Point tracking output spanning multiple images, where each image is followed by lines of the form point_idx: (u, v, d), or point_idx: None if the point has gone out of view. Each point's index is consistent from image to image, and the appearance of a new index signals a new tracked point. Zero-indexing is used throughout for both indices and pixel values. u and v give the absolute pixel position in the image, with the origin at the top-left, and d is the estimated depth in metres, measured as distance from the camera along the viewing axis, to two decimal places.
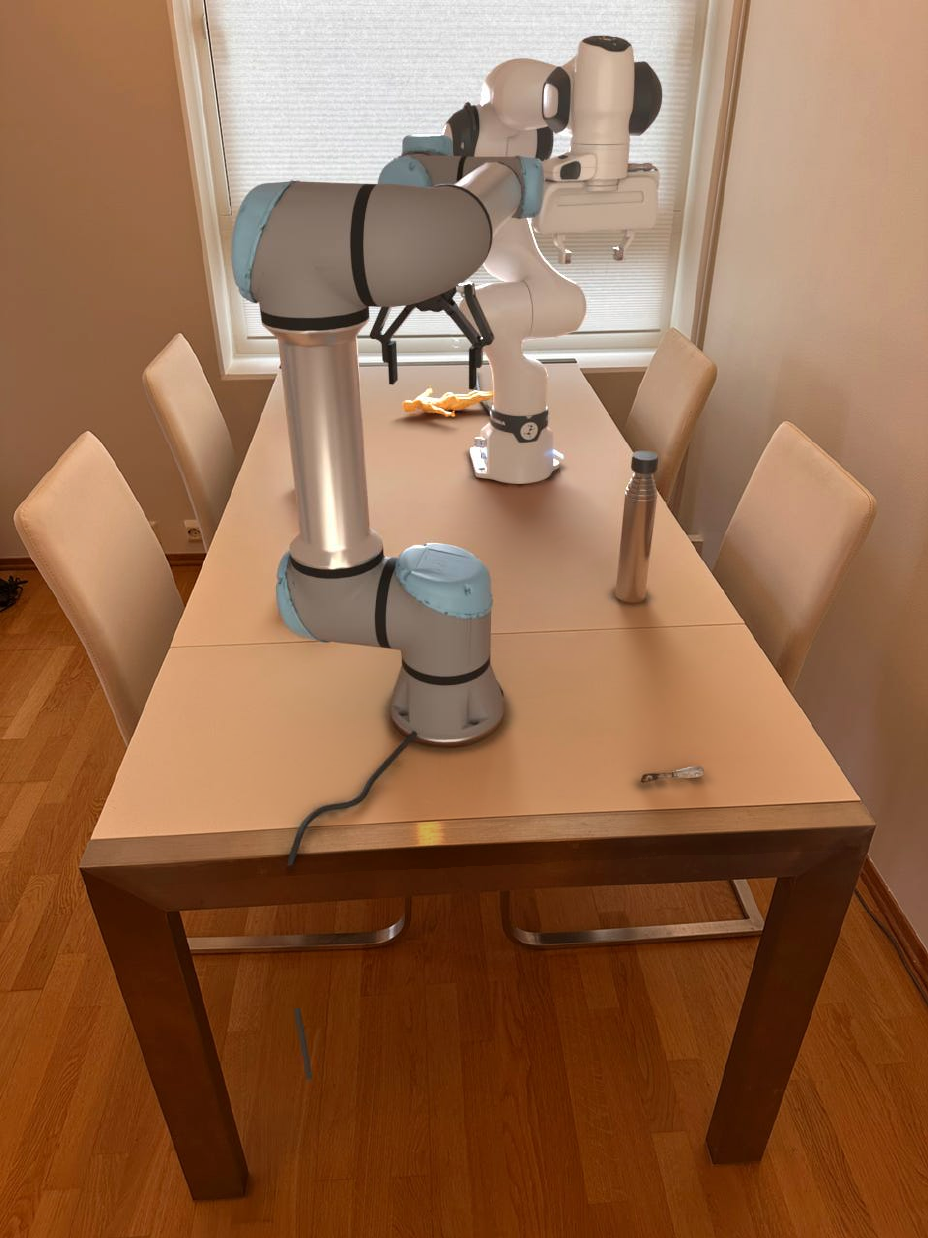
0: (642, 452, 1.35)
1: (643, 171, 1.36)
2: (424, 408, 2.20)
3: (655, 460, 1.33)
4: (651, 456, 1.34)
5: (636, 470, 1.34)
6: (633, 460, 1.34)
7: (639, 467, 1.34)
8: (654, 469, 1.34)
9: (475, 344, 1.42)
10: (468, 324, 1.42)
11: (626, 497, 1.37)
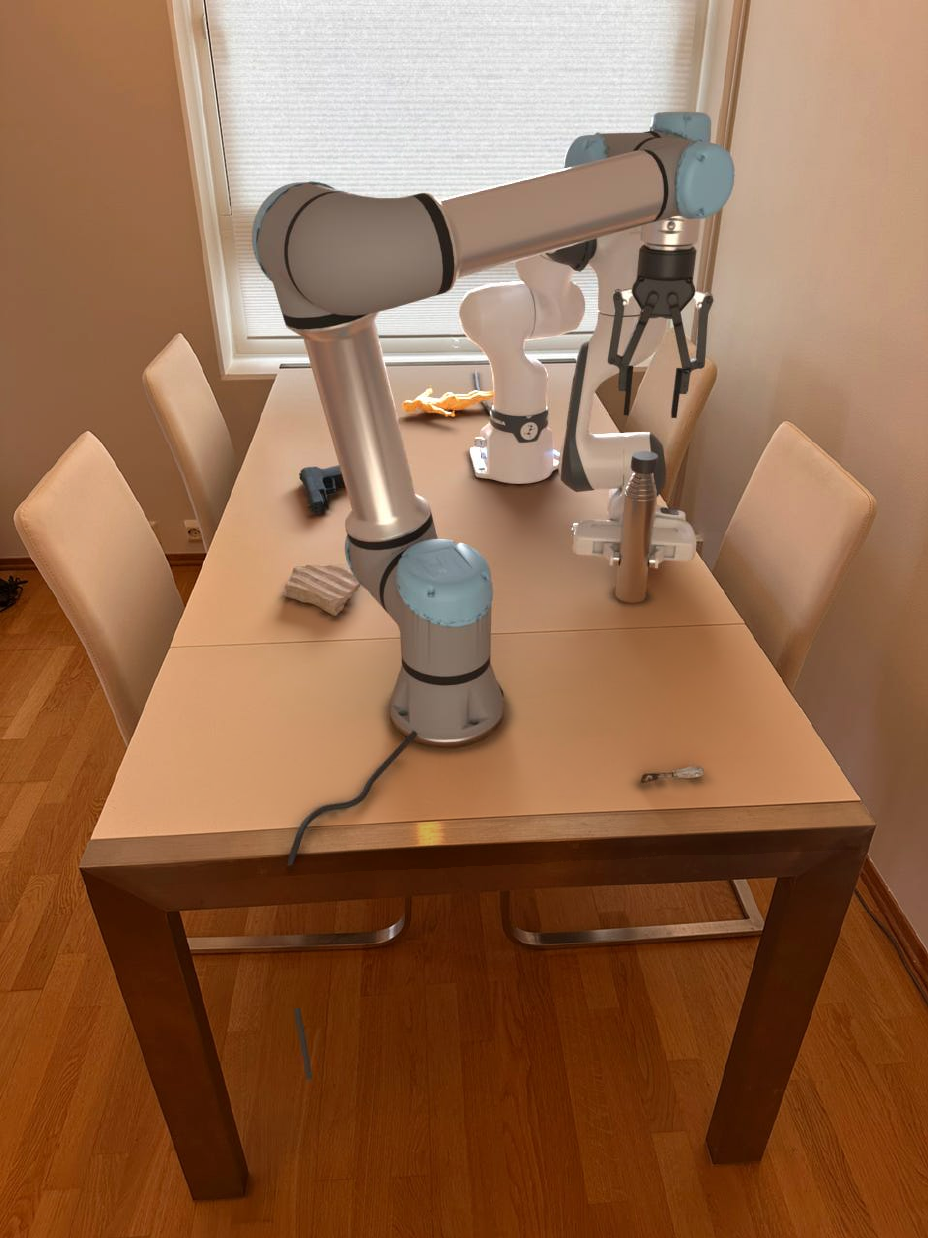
0: (642, 452, 1.35)
1: None
2: (424, 408, 2.20)
3: (655, 460, 1.33)
4: (651, 456, 1.34)
5: (636, 470, 1.34)
6: (633, 460, 1.34)
7: (638, 467, 1.34)
8: (654, 469, 1.34)
9: None
10: (629, 339, 1.26)
11: (626, 497, 1.37)
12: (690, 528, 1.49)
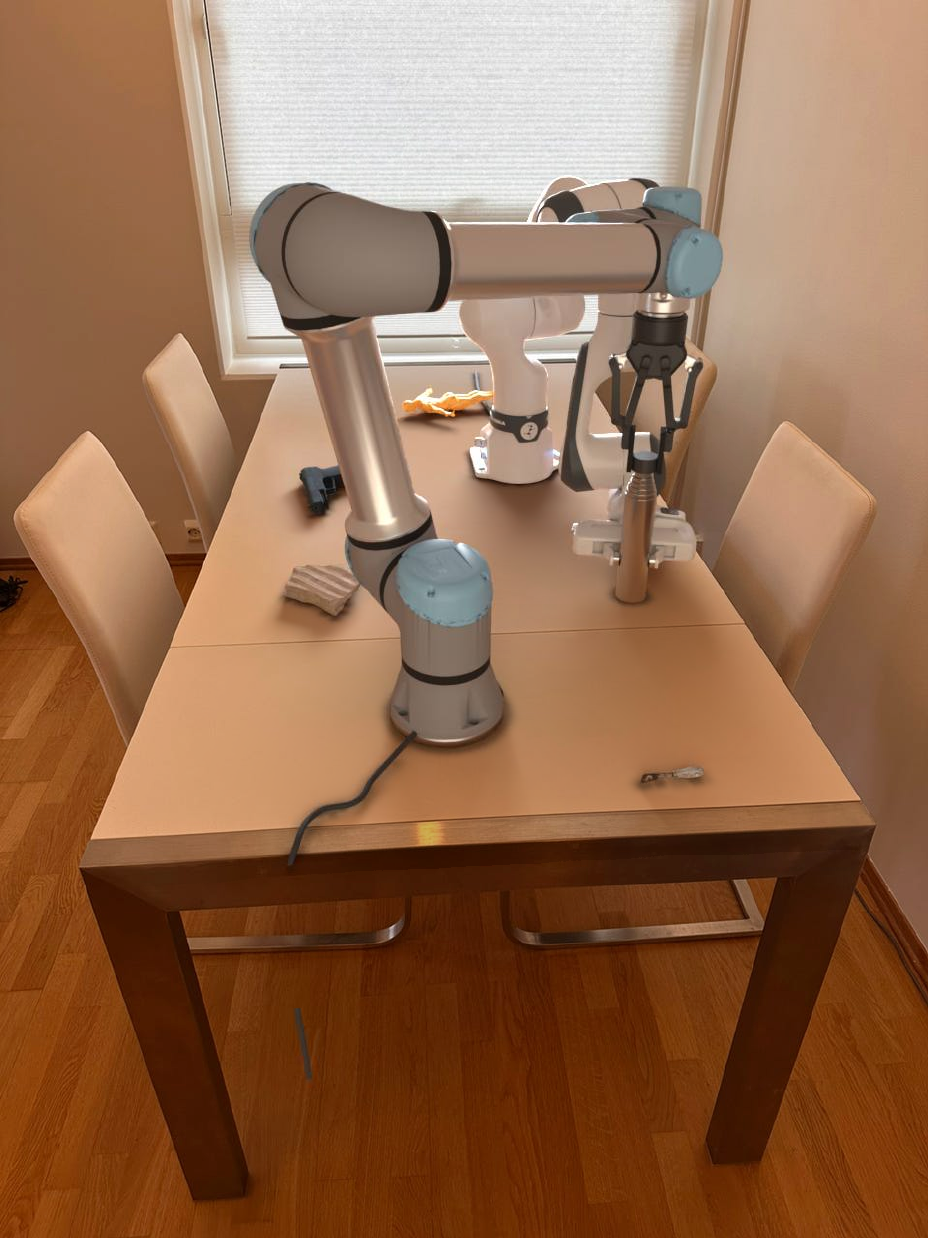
0: (642, 452, 1.35)
1: None
2: (424, 408, 2.20)
3: (655, 460, 1.33)
4: (651, 456, 1.34)
5: (636, 470, 1.34)
6: (633, 460, 1.34)
7: (639, 467, 1.34)
8: (654, 469, 1.34)
9: None
10: (629, 400, 1.31)
11: (626, 497, 1.37)
12: (690, 528, 1.49)
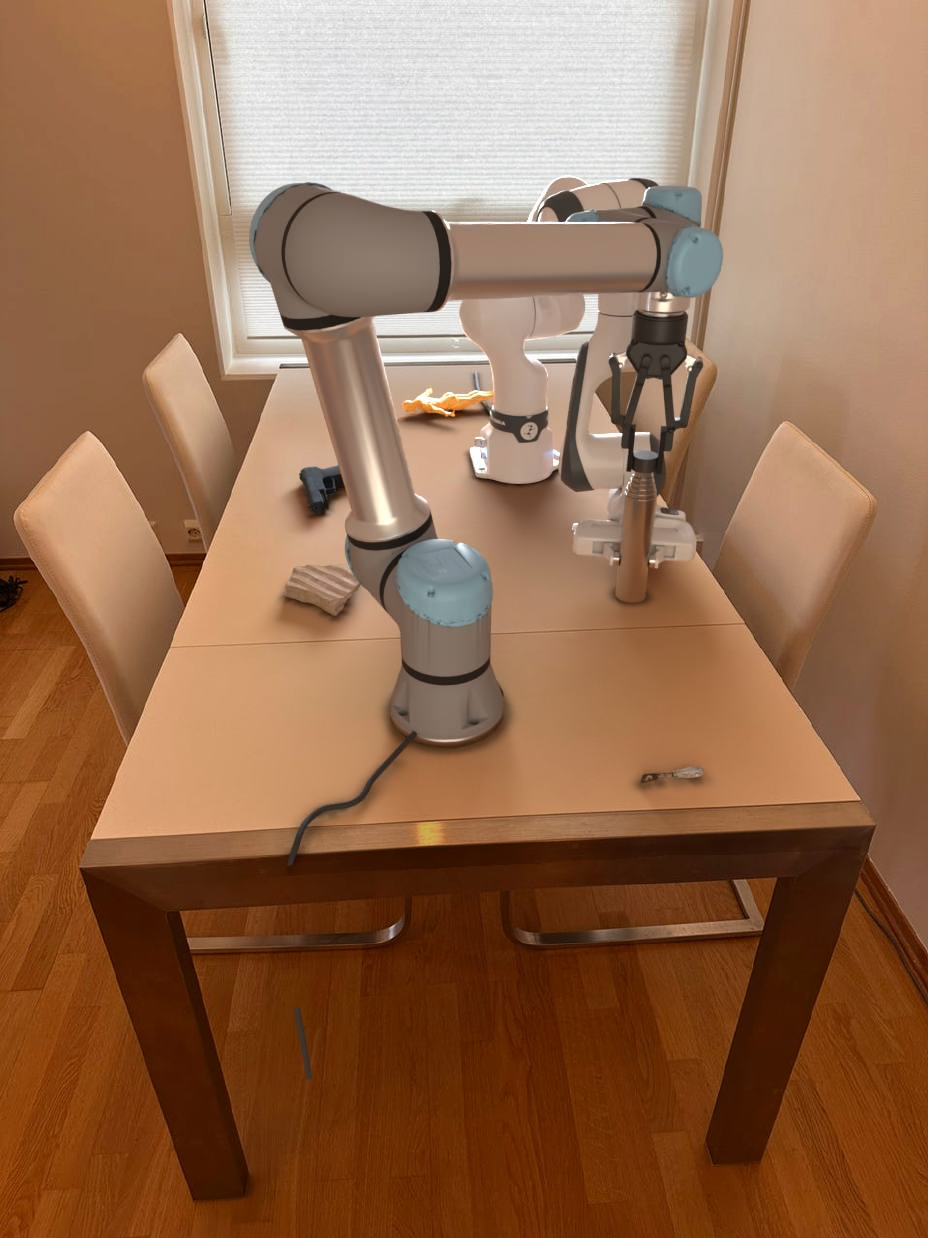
0: (638, 455, 1.34)
1: None
2: (424, 408, 2.20)
3: None
4: (646, 452, 1.35)
5: (655, 469, 1.34)
6: (652, 462, 1.33)
7: (656, 464, 1.34)
8: None
9: None
10: (629, 400, 1.31)
11: (626, 497, 1.37)
12: (690, 528, 1.49)
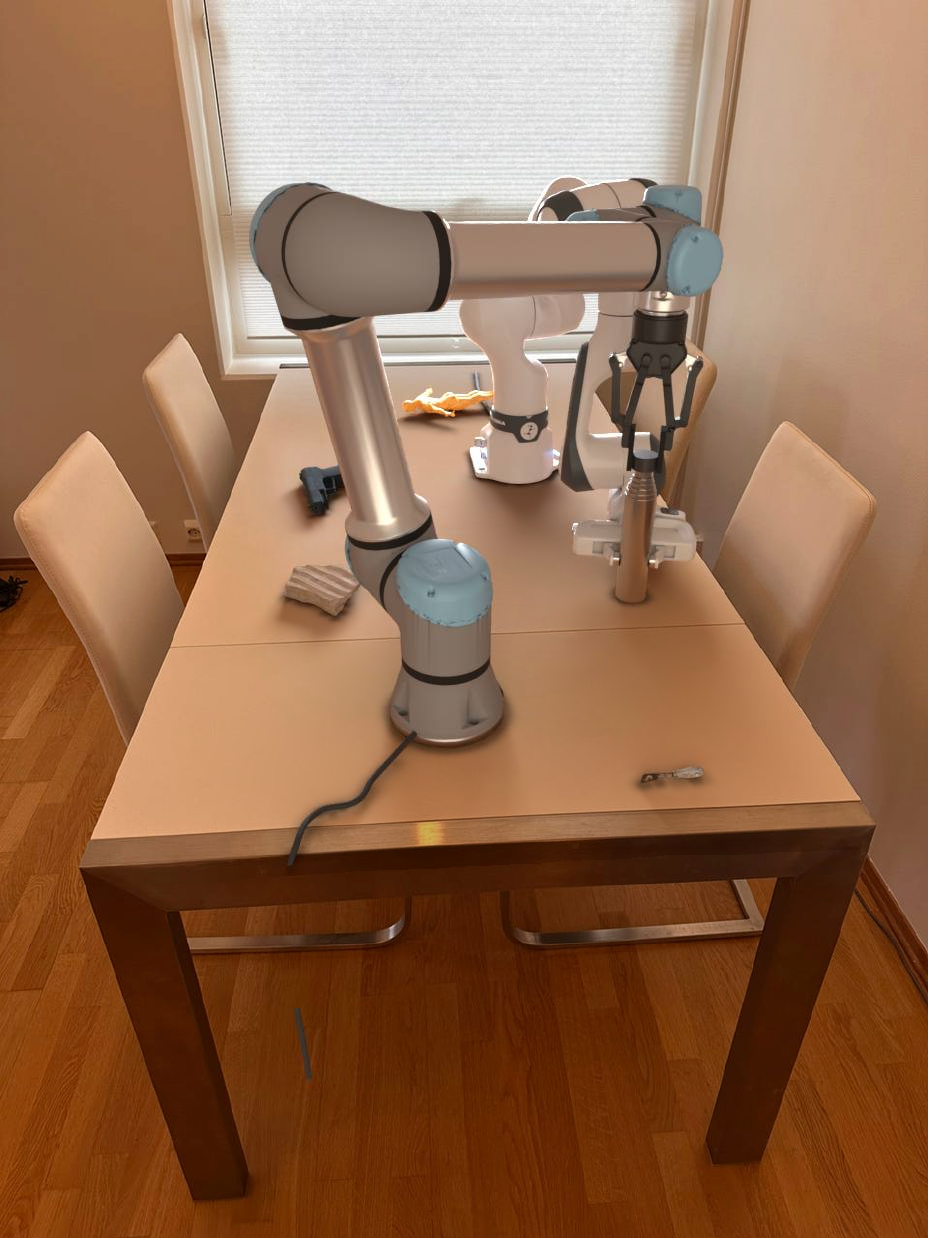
0: (650, 457, 1.33)
1: None
2: (424, 408, 2.20)
3: None
4: (639, 453, 1.34)
5: None
6: None
7: None
8: None
9: None
10: (629, 399, 1.31)
11: (626, 497, 1.37)
12: (690, 528, 1.49)
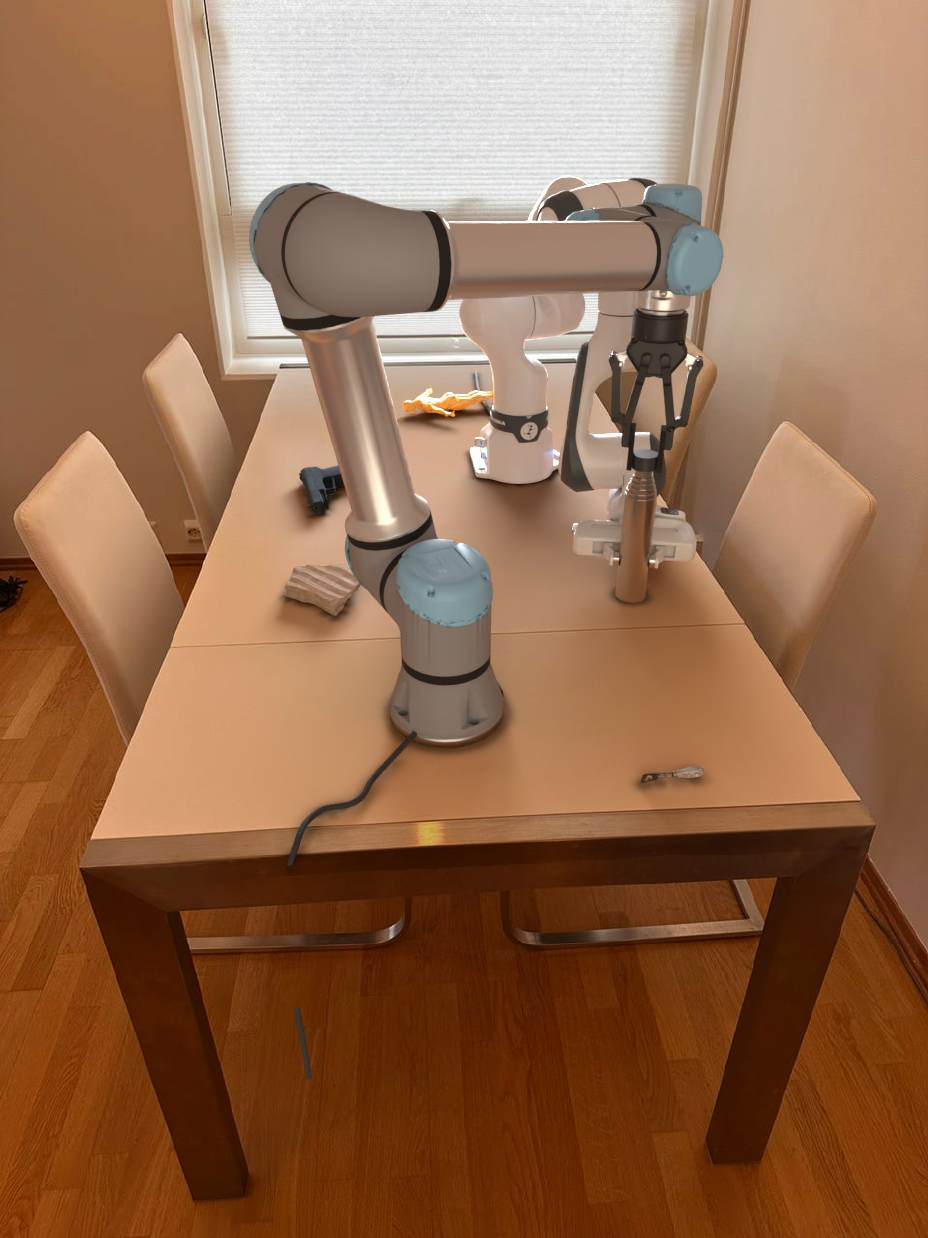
0: (651, 452, 1.35)
1: None
2: (424, 408, 2.20)
3: (641, 459, 1.33)
4: (646, 455, 1.33)
5: None
6: None
7: (632, 460, 1.35)
8: (640, 468, 1.34)
9: None
10: None
11: (626, 497, 1.37)
12: (690, 528, 1.49)
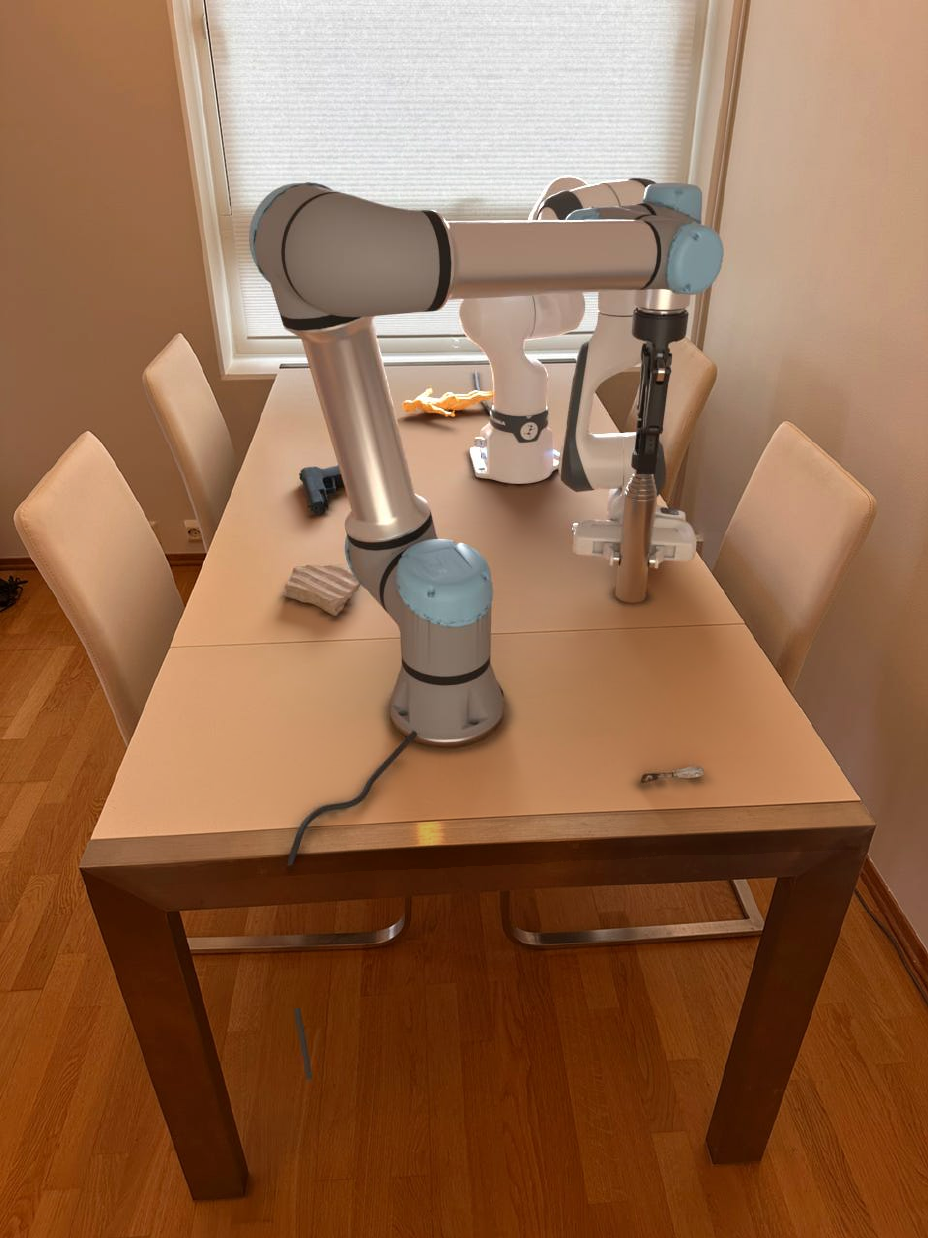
0: None
1: None
2: (424, 408, 2.20)
3: None
4: None
5: None
6: None
7: None
8: (657, 464, 1.34)
9: (642, 427, 1.29)
10: None
11: (626, 497, 1.37)
12: (690, 528, 1.49)
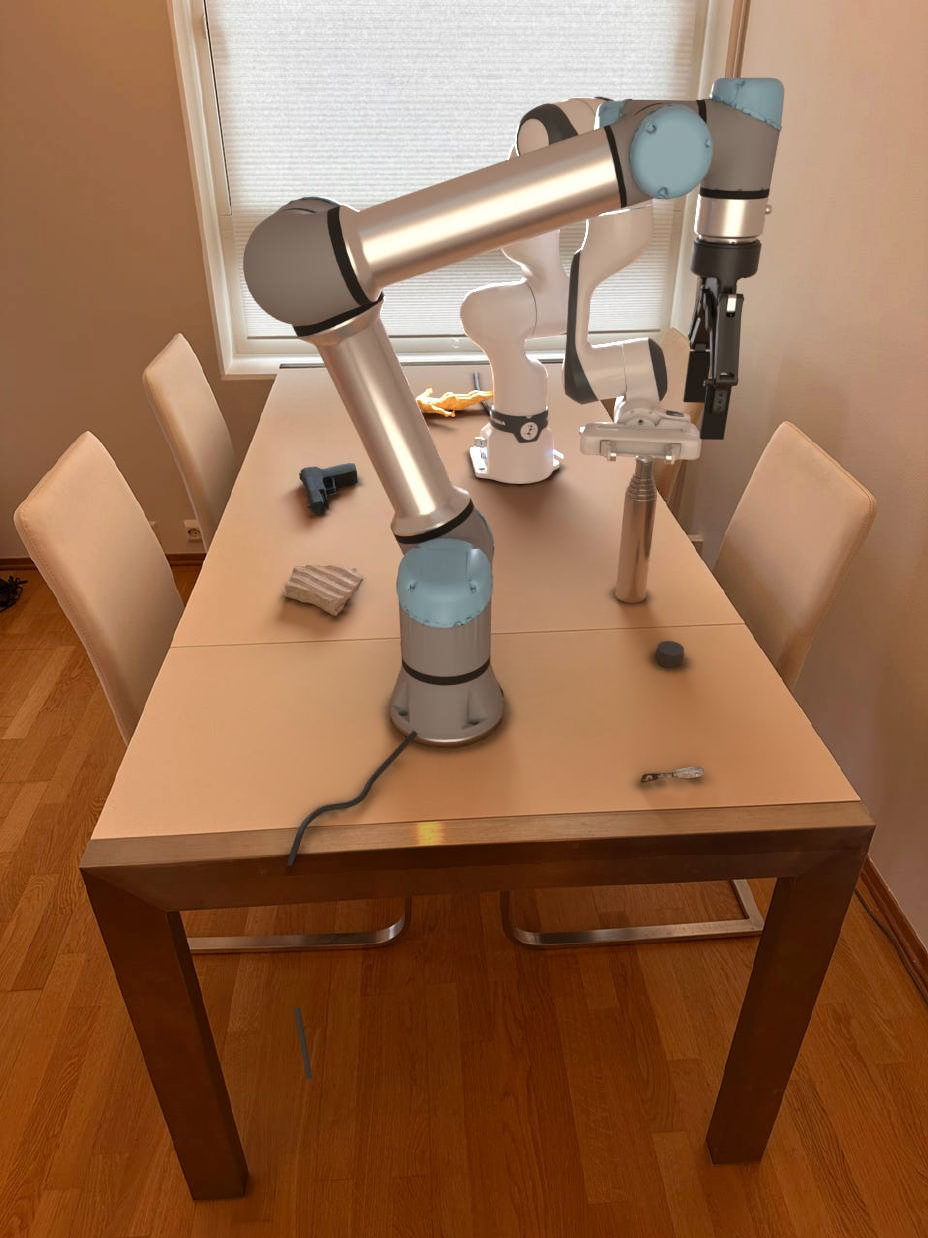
0: (664, 644, 1.31)
1: None
2: (424, 408, 2.20)
3: (683, 651, 1.30)
4: (677, 647, 1.30)
5: (667, 665, 1.29)
6: (662, 656, 1.29)
7: (670, 662, 1.29)
8: (682, 659, 1.30)
9: None
10: None
11: (626, 497, 1.37)
12: (695, 428, 1.52)
